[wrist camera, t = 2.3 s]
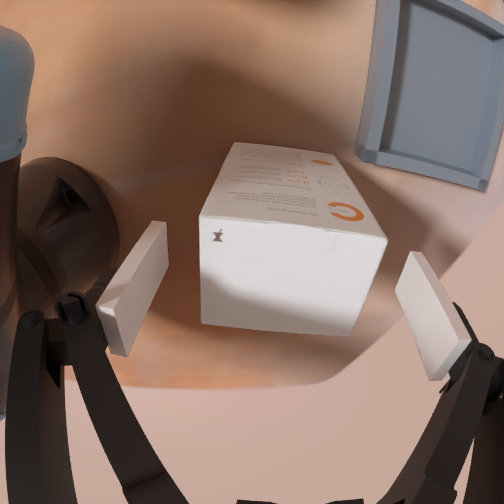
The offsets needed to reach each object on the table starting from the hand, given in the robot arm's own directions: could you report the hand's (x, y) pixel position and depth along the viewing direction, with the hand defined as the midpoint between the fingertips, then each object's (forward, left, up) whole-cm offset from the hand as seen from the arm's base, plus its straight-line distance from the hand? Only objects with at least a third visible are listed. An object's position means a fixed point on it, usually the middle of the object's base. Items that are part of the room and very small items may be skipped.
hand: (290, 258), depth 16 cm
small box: (0, 0, -11) cm, 11 cm away
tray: (+11, +11, -10) cm, 19 cm away
